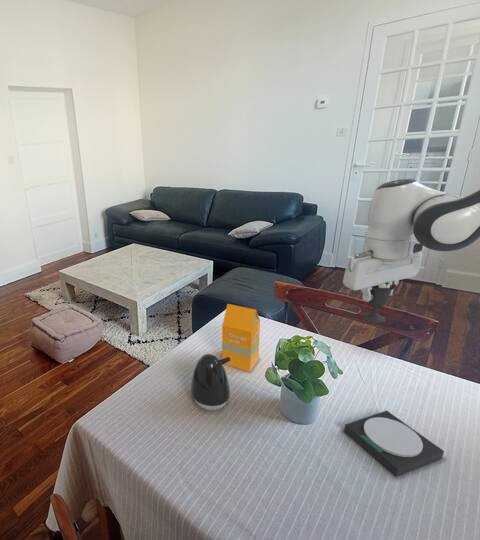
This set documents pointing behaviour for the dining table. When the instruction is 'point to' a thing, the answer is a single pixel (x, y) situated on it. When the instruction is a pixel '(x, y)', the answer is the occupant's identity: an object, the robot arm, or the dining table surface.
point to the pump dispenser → (210, 383)
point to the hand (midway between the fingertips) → (377, 297)
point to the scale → (393, 443)
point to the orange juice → (241, 336)
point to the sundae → (379, 301)
